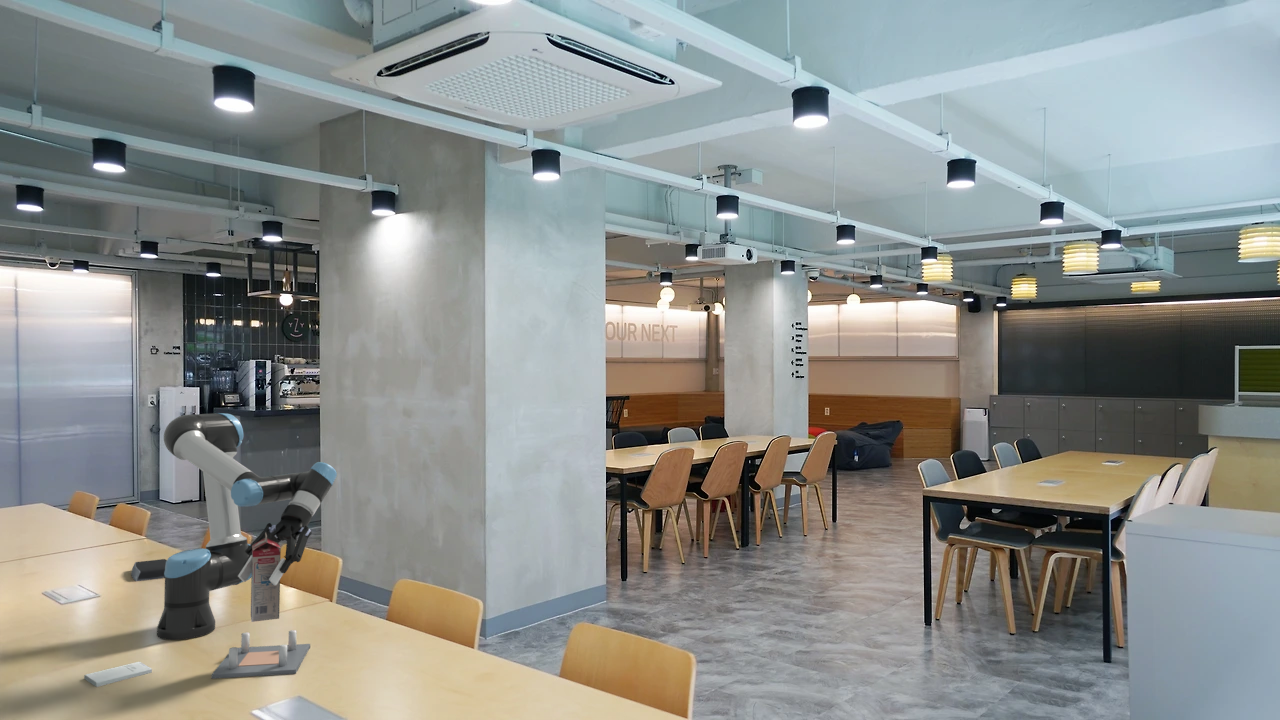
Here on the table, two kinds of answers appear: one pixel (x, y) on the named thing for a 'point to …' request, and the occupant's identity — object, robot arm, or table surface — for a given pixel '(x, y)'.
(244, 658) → the peg stand
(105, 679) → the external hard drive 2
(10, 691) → the table surface
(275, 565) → the juice carton
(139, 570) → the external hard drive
